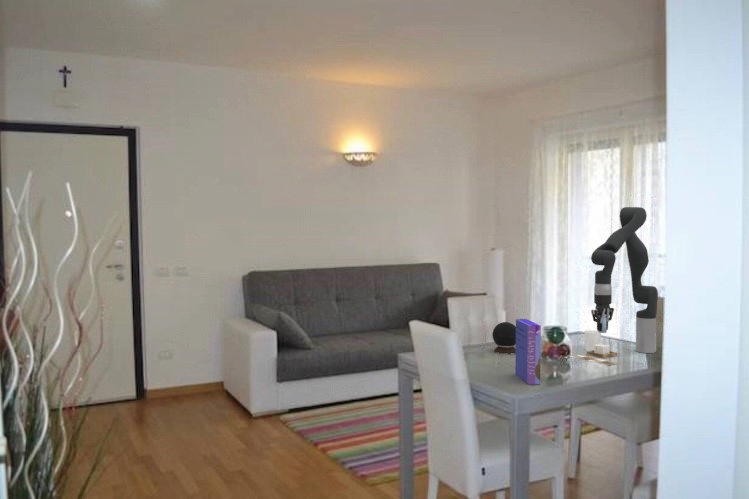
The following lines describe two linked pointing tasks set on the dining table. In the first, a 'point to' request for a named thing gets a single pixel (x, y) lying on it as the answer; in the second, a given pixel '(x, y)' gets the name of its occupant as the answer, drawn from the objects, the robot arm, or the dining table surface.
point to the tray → (611, 354)
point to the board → (593, 359)
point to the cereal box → (528, 351)
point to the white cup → (591, 339)
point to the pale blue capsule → (603, 324)
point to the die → (601, 349)
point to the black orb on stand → (505, 337)
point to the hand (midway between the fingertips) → (602, 330)
